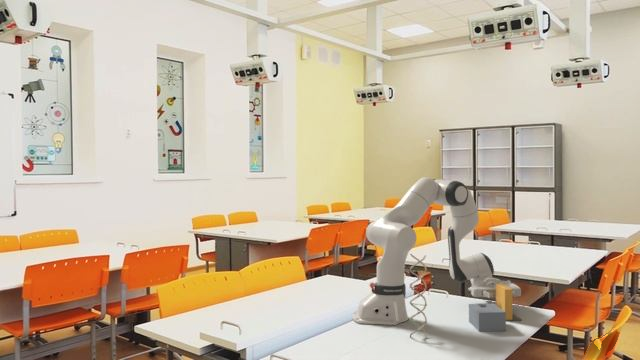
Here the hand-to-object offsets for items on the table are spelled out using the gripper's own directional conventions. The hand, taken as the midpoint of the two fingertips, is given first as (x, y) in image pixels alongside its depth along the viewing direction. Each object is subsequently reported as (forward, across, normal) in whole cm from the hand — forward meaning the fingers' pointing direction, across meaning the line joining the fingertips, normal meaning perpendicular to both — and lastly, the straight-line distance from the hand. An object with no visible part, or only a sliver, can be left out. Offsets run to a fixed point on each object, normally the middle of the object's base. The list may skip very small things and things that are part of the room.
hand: (502, 295), depth 211 cm
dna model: (+25, -40, +8) cm, 48 cm away
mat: (+2, 0, +8) cm, 8 cm away
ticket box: (+13, -11, +8) cm, 19 cm away
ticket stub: (+2, 0, +8) cm, 8 cm away
